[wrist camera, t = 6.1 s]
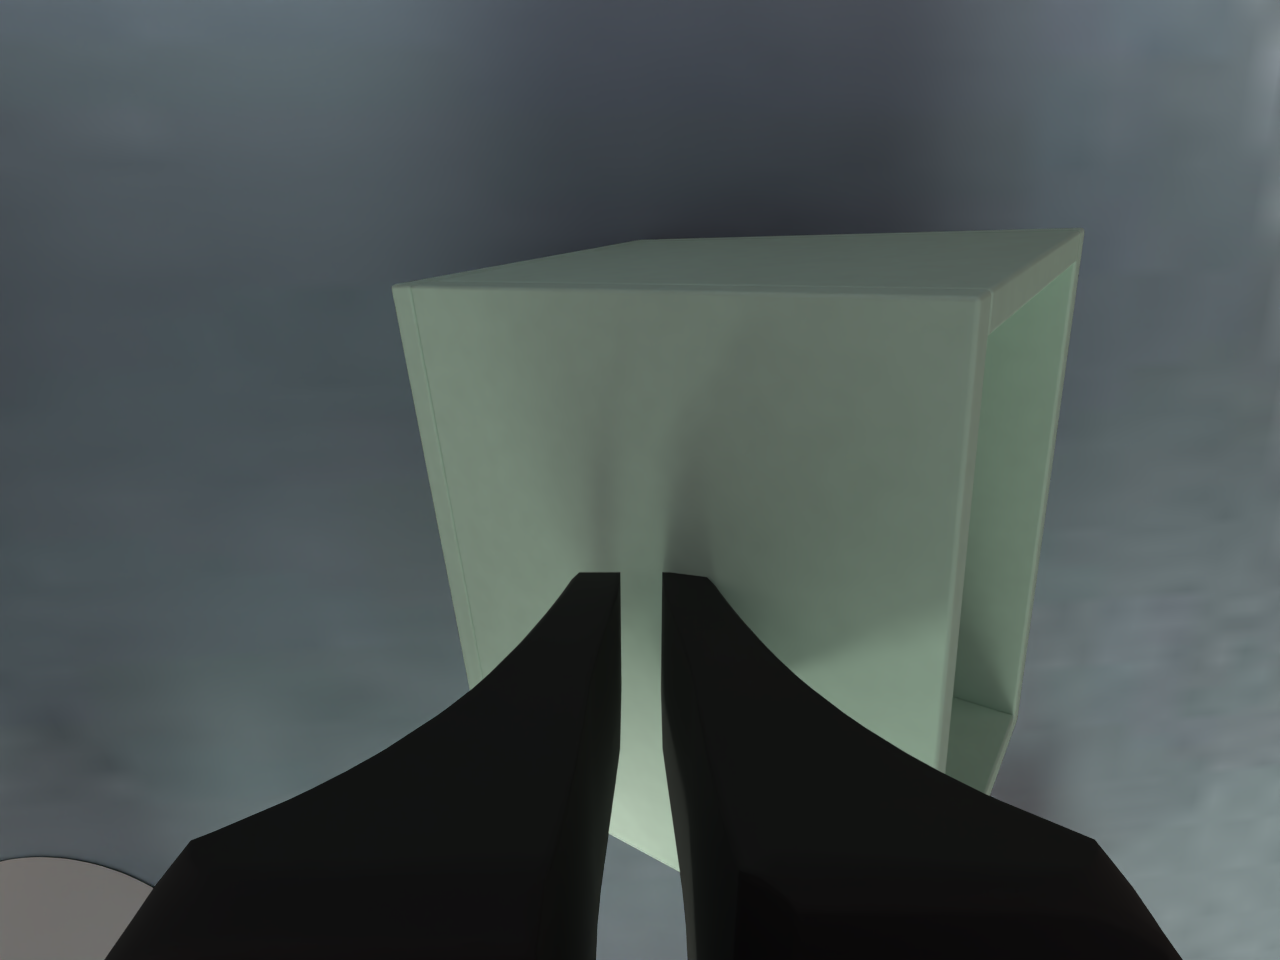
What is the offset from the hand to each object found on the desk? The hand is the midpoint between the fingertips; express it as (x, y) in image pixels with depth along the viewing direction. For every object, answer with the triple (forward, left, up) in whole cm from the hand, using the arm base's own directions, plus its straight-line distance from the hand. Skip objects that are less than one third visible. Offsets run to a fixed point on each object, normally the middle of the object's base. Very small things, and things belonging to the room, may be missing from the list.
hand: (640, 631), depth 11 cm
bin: (+1, -1, -6) cm, 6 cm away
